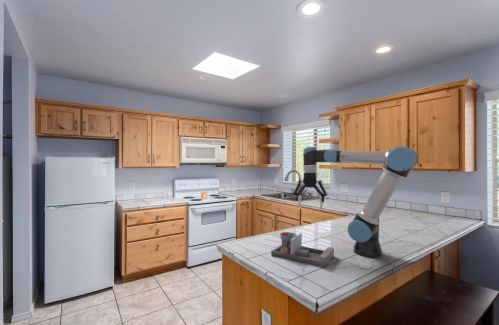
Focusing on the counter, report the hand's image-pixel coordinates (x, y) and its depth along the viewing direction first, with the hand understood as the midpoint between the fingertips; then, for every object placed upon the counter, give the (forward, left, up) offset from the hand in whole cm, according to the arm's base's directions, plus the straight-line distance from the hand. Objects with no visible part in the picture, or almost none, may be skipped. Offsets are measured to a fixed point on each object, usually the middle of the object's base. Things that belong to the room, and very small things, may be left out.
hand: (310, 206), depth 156 cm
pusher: (-1, +16, -24) cm, 29 cm away
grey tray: (-1, +16, -25) cm, 30 cm away
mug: (+6, +16, -25) cm, 30 cm away
